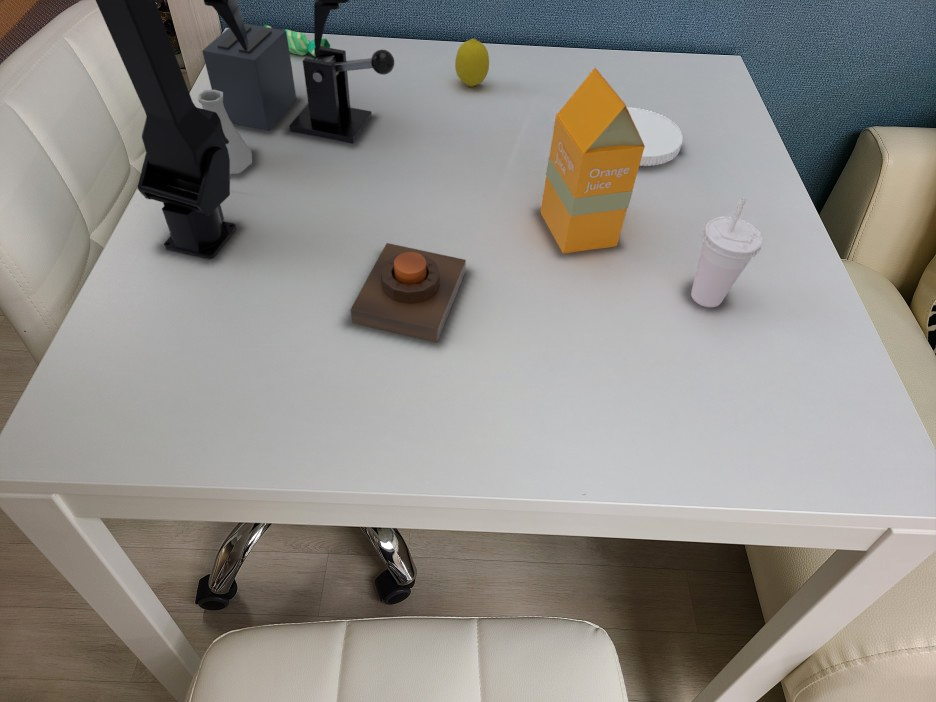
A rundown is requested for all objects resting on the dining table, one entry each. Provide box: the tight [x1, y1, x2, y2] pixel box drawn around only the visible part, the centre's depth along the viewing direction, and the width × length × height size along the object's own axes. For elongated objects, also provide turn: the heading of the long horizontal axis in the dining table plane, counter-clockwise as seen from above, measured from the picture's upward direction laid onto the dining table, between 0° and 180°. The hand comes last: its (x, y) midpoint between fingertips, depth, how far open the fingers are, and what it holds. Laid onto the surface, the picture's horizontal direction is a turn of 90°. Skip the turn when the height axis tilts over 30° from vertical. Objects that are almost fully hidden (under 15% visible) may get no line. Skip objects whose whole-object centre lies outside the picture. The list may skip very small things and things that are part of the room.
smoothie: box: [690, 196, 764, 308], centre depth 76 cm, size 6×6×14 cm
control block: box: [350, 242, 467, 343], centre depth 77 cm, size 12×10×4 cm
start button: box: [394, 252, 426, 285], centre depth 75 cm, size 4×4×2 cm
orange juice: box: [539, 67, 645, 254], centre depth 81 cm, size 8×9×20 cm
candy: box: [263, 23, 331, 58], centre depth 116 cm, size 12×3×4 cm
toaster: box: [201, 22, 297, 132], centre depth 100 cm, size 10×8×11 cm
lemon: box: [454, 38, 490, 88], centre depth 110 cm, size 6×6×8 cm
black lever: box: [314, 49, 395, 76], centre depth 94 cm, size 12×3×3 cm, turn 75°
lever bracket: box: [289, 46, 373, 144], centre depth 98 cm, size 10×8×11 cm
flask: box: [197, 89, 253, 175], centre depth 91 cm, size 7×7×10 cm
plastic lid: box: [626, 106, 684, 167], centre depth 102 cm, size 14×14×2 cm
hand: (282, 50), depth 88 cm, fingers open, 9 cm apart
